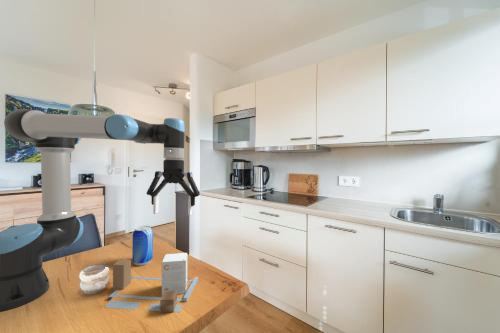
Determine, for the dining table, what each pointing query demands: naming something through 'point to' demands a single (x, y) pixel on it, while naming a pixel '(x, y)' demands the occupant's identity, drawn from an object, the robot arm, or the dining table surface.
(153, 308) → the broken strip
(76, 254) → the dining table surface
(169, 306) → the walnut cube
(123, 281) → the frame
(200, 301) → the dining table surface
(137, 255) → the beer can
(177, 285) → the small box
